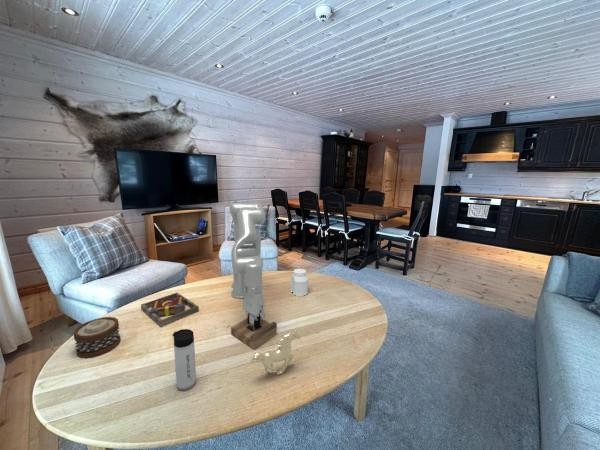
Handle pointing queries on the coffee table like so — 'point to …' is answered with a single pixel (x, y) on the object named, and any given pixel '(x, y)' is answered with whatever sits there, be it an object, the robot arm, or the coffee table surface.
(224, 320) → the coffee table surface
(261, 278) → the robot arm
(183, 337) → the travel mug
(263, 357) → the unicorn
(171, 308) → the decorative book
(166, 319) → the book frame
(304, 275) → the jar
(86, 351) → the brown drum
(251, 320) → the blue-grey domed cylinder
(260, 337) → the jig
